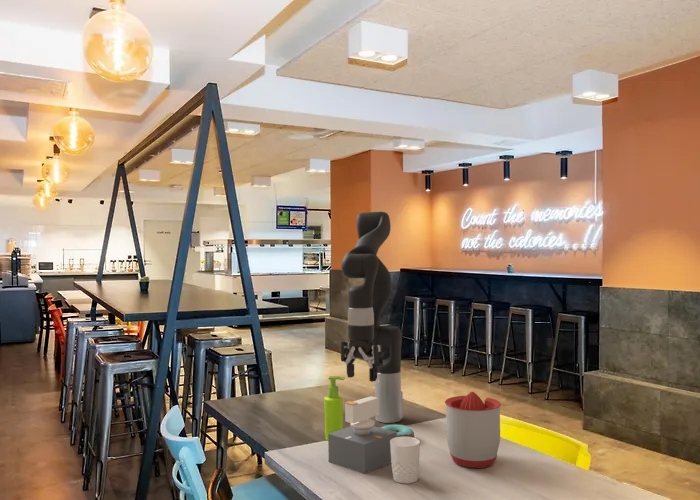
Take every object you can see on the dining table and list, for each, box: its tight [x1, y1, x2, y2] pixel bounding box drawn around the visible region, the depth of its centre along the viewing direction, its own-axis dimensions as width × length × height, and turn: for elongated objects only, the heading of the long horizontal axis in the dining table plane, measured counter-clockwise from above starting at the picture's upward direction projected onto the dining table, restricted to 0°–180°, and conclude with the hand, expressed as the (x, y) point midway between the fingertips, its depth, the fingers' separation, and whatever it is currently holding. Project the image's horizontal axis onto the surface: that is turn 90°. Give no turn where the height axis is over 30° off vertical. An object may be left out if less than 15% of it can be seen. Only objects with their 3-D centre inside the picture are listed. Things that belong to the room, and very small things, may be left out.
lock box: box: [327, 425, 397, 474], centre depth 169 cm, size 14×14×10 cm
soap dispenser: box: [323, 375, 346, 441], centre depth 189 cm, size 6×7×20 cm
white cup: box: [390, 437, 421, 484], centre depth 155 cm, size 8×8×10 cm
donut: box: [380, 424, 415, 438], centre depth 186 cm, size 12×12×4 cm
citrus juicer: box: [444, 391, 501, 469], centre depth 168 cm, size 16×17×20 cm
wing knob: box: [344, 396, 379, 429], centre depth 169 cm, size 11×7×7 cm, turn 137°
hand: (361, 379), depth 169 cm, fingers open, 8 cm apart
